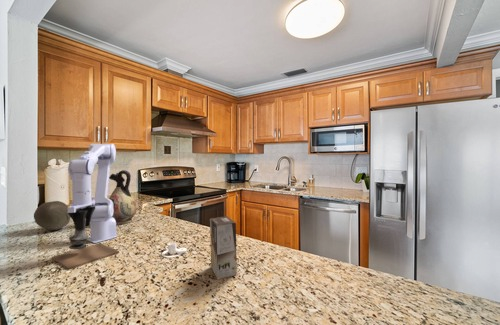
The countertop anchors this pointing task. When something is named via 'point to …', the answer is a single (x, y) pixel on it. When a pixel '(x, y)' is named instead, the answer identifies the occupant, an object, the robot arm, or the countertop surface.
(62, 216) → the grey rounded lump
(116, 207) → the ceramic jug
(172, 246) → the teacup and saucer
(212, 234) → the coffee box
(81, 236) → the dark grey turned piece
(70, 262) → the walnut board
